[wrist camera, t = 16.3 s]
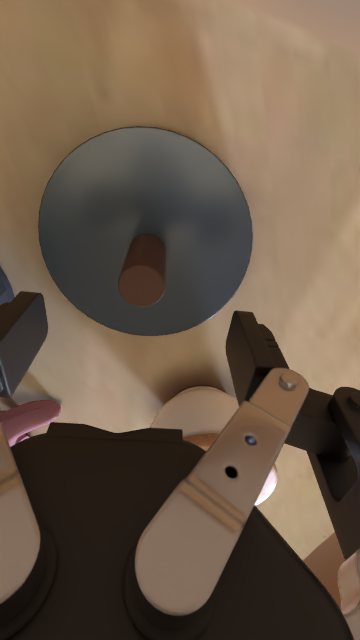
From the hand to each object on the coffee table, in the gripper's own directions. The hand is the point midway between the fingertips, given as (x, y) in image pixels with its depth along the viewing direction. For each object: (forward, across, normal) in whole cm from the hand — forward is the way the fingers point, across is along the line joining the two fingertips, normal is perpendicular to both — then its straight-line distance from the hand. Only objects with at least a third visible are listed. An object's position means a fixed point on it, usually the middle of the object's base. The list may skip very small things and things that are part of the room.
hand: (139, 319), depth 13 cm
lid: (+8, 0, 0) cm, 8 cm away
